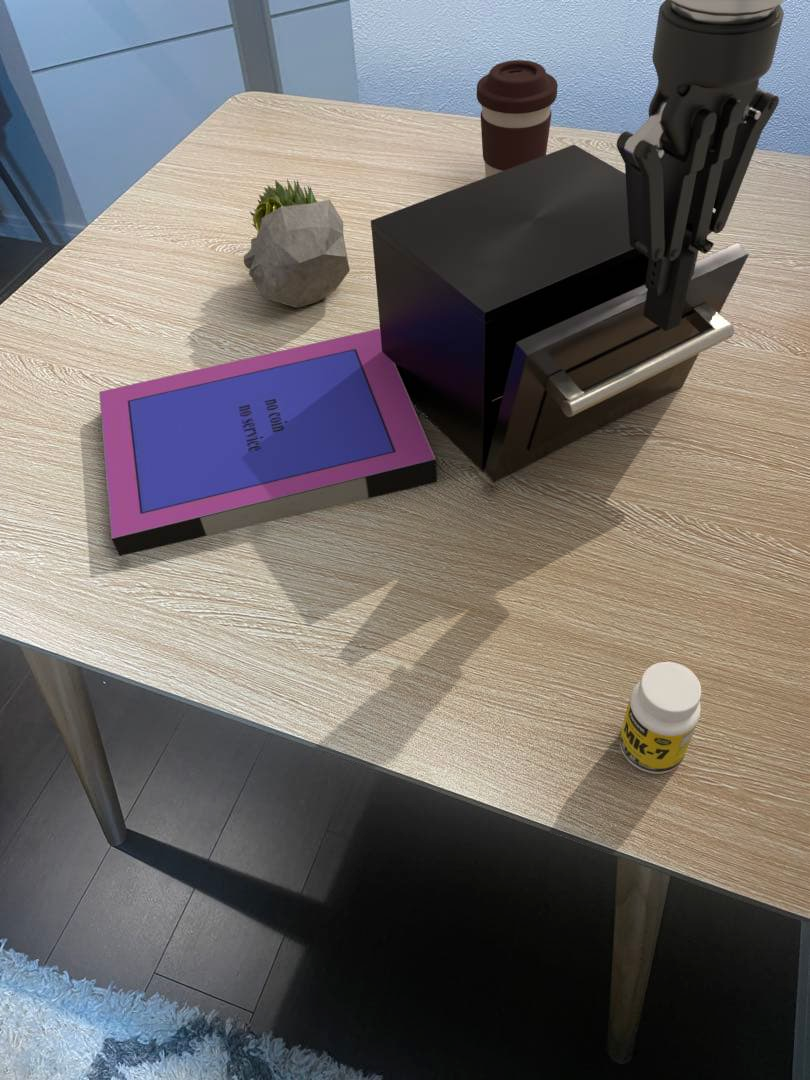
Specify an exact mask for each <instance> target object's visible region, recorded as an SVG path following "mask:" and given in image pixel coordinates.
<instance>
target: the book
mask: <svg viewBox="0 0 810 1080" xmlns="http://www.w3.org/2000/svg"><path fill="white" fill-rule="evenodd" d="M98 393H99V406H100V417H101V431H102V442H103V454H104V467H105V479H106V489H107V490H106V492H107V503H108V504H107V505H108V516H109V530H110V539H111V541H112V543H113V545H114V548H115V549H116V552H117V554H118V556H119V557H122V556H126V555H131V554H134V553H140V552H143V551H147V550H151V549H156V548H161V547H165V546H169V545H174V544H178V543H181V542H187V541H191V540H196V539H199V538H204V537H208V536H213V535H217V534H220V533H221V534H222V533H224V532H225V533H226V532H230V531H234V530H238V529H239V530H240V529H243V528H247V527H250V526H255V525H256V526H257V525H261V524H264V523H268V522H273V521H277V520H282V519H286V518H290V517H294V516H298V515H302V514H307V513H312V512H316V511H320V510H325V509H328V508H333V507H338V506H341V505H347V504H350V503H355V502H360V501H363V500H367V499H372V498H376V497H381V496H385V495H390V494H393V493H398V492H400V491H405V490H406V491H407V490H410V489H413V488H418V487H421V486H426V485H430V484H434V483H437V482H438V472H437V459H436V456H435V454H434V451H433V450H432V447H431V444H430V442H429V440H428V438H427V435H426V433H425V430H424V429H423V426H422V423H421V421H420V418H419V416H418V414H417V412H416V409H415V406H414V404H413V403H412V402H411V400H410V398H409V395H408V393H407V391H406V388H405V386H404V384H403V381H402V379H401V377H400V374H399V372H398V370H397V367H396V365H395V363H394V362H393V361H392V360H391V359H390V358H389V357H387V356H386V355H385V354H384V353H383V352H382V345H381V334H380V327H379V328H375V329H371V330H366V331H363V332H359V333H358V332H357V333H353V334H348V335H345V336H344V335H343V336H340V337H336V338H331V339H327V340H322V341H317V342H313V343H309V344H304V345H300V346H296V347H292V348H287V349H283V350H278V351H275V352H269V353H264V354H260V355H256V356H252V357H251V356H250V357H247V358H243V359H238V360H233V361H229V362H225V363H221V364H220V363H219V364H216V365H212V366H207V367H203V368H198V369H194V370H189V371H185V372H180V373H176V374H172V375H167V376H163V377H158V378H154V379H150V380H144V381H140V382H136V383H131V384H127V385H123V386H119V387H113V388H110V389H105V390H100V391H98Z"/></svg>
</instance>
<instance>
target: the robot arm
mask: <svg viewBox="0 0 810 1080" xmlns="http://www.w3.org/2000/svg"><path fill="white" fill-rule="evenodd" d="M785 1H786V0H664V1H663V2H662V3H661V4H660V6H659V8H658V15H657V22H656V29H655V36H654V42H653V49H652V56H651V60H652V64H653V66H654V69H655V72H656V76H657V86H656V89H655V92H654V94H653V96H652V98H651V100H650V103H649V106H648V118H647V120H646V121H645V122H644V123H643V124H642V125H641V126H640V128H639V129H638V130H636V132H635V133H634V134H633V133H631V132H629V131H622V133H620V135H619V136H618V138H617V140H616V149H617V150H618V152H619V155H620V157H621V158H622V161H623V163H624V171H625V172H624V173H625V174H626V189H627V206H628V222H629V239H630V246H631V247H633V248H634V249H636V250H637V251H639V252H641V253H642V254H644V255H645V256H647V257H648V258H649V262H648V268H647V274H646V280H645V286H646V288H647V289H648V290H647V296H646V301H645V307H644V313H643V316H645V317H646V318H647V319H649V320H650V321H652V322H653V323H655V324H656V325H658V326H659V327H660V328H662V329H663V330H665V331H668V330H670V329H672V328H674V327H677V326H679V325H680V322H681V317H682V313H683V308H684V303H685V298H686V294H687V289H688V284H689V281H691V279H692V277H693V274H694V270H695V265H696V261H697V260H698V256H699V252H700V253H702V254H704V255H705V254H708V253H709V252H711V250H712V248H713V247H714V242H713V241H711V240H709V239H708V236H709V235H710V234H712V233H714V234H719V233H721V232H722V231H723V230H724V229H725V227H726V224H727V222H728V219H729V217H730V214H731V211H732V209H733V206H734V204H735V201H736V199H737V196H738V194H739V191H740V188H741V186H742V183H743V181H744V178H745V176H746V173H747V171H748V168H749V166H750V163H751V161H752V158H753V156H754V153H755V150H756V148H757V146H758V143H759V140H760V138H761V135H762V133H763V131H764V129H765V128H766V126H767V124H768V122H769V121H770V119H771V118H772V116H773V114H774V113H775V111H776V110H777V107H778V106H779V102H780V98H779V96H778V95H775V94H773V93H771V92H768V91H767V90H764V89H762V88H760V87H759V85H760V84H759V83H760V79H761V78H762V77H764V76H765V75H766V74H767V73H768V72H769V70H770V69H771V68H772V64H773V61H774V57H775V54H776V48H777V45H778V41H779V36H780V33H781V28H782V24H783V19H784V15H785V13H784V9H783V8H782V5H781V4H782V3H784V2H785Z"/></svg>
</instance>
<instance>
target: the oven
mask: <svg viewBox="0 0 810 1080" xmlns="http://www.w3.org/2000/svg"><path fill="white" fill-rule="evenodd" d="M370 228H371V229H370V230H371V239H372V250H373V263H374V264H373V265H374V274H375V285H376V297H377V309H378V321H379V322H378V323H379V328H380V334H381V345H382V352H383V353H384V354H385V355H386V356H387V357H389V358H390V359H391V360H392V361H393V362H394V363H395V365H396V367H397V370H398V372H399V374H400V377H401V379H402V381H403V384H404V386H405V388H406V391H407V393H408V395H409V398H410V400H411V402H412V405H413V406H414V407H416V409H418V411H420V412H421V413H422V414H423V415H424V416H425V417H426V418H427V419H428V420H429V421H430V422H431V423H432V424H433V425H434V426H435V427H436V428H437V429H438V430H439V431H440V432H441V433H442V434H443V435H445V437H446V438H447V439H449V441H451V443H452V444H453V445H454V446H456V448H457V449H459V451H461V452H462V454H463V455H465V456H466V457H467V458H468V460H470V462H471V463H473V464H474V465H475V466H476V467H477V468H478V469H479V470H480V471H481V472H485V471H484V470H485V466H486V462H487V458H488V454H489V450H490V446H491V442H492V438H493V434H494V430H495V426H496V422H497V417H498V413H499V409H500V405H501V401H502V397H503V393H504V389H505V385H506V381H507V377H508V373H509V369H510V365H511V361H512V357H513V353H514V349H515V345H516V342H518V341H520V340H523V339H525V338H527V337H529V336H531V335H534V334H536V333H538V332H540V331H542V330H545V329H547V328H549V327H551V326H554V325H556V324H558V323H560V322H562V321H565V320H567V319H569V318H571V317H573V316H576V315H578V314H580V313H582V312H585V311H587V310H589V309H591V308H593V307H596V306H598V305H600V304H602V303H604V302H607V301H609V300H611V299H613V298H616V297H618V296H620V295H622V294H624V293H627V292H629V291H631V290H633V289H635V288H638V287H640V286H642V285H644V284H645V280H646V274H647V268H648V262H649V258H648V257H647V256H645V255H644V254H642V253H641V252H639V251H637V250H636V249H634V248H633V247H631V246H630V239H629V222H628V206H627V189H626V173H625V172H624V171H622V170H619V169H618V168H616V167H615V166H613V165H611V164H609V163H608V162H606V161H604V160H602V159H601V158H599V157H597V156H596V155H593V154H592V153H590V152H588V151H586V150H585V149H583V148H581V147H580V146H578V145H576V144H572V145H569V146H567V147H563V148H561V149H558V150H555V151H553V152H551V153H546V155H545V156H542V157H539V158H537V159H534V160H531V161H529V162H526V163H523V164H521V165H518V166H515V167H513V168H510V169H507V170H505V171H502V172H499V173H497V174H494V175H491V176H489V177H486V176H485V177H484V178H480V179H478V180H476V181H473V182H470V183H468V184H464V185H462V186H459V187H456V188H454V189H451V190H448V191H446V192H443V193H440V194H438V195H435V196H432V197H430V198H427V199H425V200H422V201H419V202H416V203H413V204H411V205H409V206H405V207H403V208H401V209H398V210H395V211H392V212H390V213H387V214H385V215H381V216H379V217H377V218H373V219H371V220H370Z"/></svg>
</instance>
